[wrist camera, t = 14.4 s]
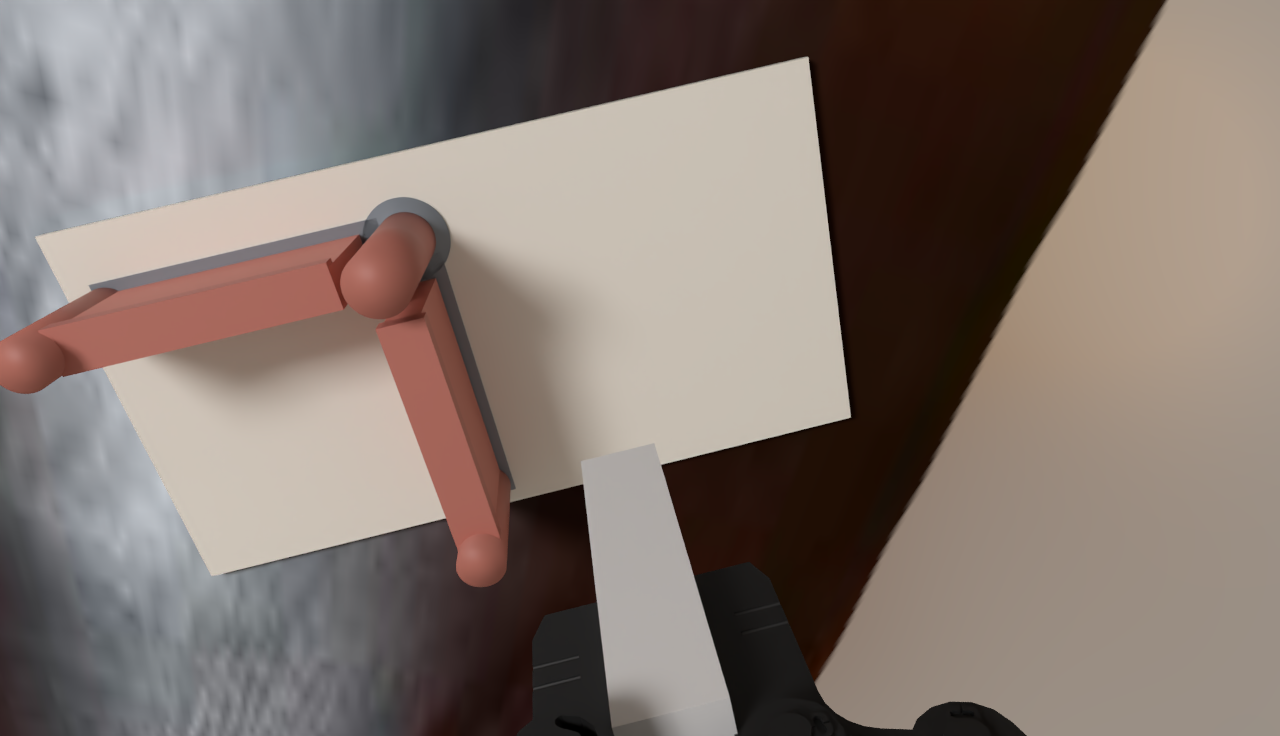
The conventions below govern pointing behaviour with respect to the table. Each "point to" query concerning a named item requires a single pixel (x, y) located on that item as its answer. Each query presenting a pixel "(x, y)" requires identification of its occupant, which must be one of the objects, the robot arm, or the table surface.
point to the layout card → (498, 311)
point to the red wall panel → (450, 432)
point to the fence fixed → (222, 303)
